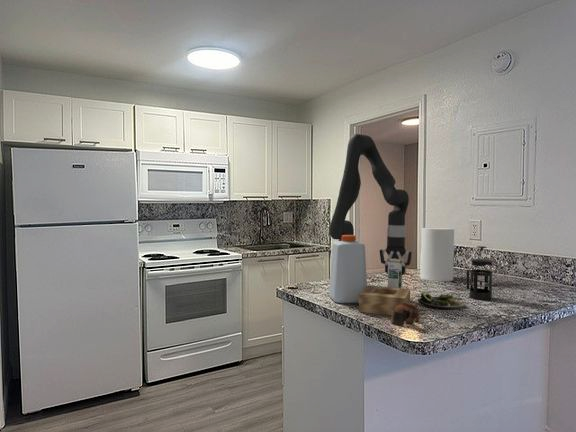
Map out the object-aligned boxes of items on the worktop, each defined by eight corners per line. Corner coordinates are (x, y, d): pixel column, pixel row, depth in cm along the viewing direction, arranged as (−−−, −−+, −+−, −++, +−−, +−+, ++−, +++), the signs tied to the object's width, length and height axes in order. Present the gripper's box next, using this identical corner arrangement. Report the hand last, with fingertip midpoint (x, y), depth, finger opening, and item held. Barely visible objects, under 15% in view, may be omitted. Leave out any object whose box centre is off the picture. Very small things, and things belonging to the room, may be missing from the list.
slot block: (358, 311, 155) (358, 294, 155) (368, 301, 171) (368, 285, 171) (404, 317, 149) (404, 298, 148) (409, 306, 164) (410, 289, 164)
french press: (498, 299, 177) (499, 247, 176) (486, 301, 172) (487, 248, 171) (473, 293, 187) (474, 244, 186) (461, 296, 181) (462, 245, 180)
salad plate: (450, 298, 179) (450, 288, 179) (477, 308, 162) (477, 297, 162) (410, 300, 175) (411, 290, 175) (434, 311, 158) (434, 299, 158)
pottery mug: (384, 321, 145) (391, 300, 147) (406, 332, 146) (413, 311, 148) (400, 323, 133) (408, 299, 136) (424, 334, 134) (432, 311, 137)
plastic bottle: (370, 303, 169) (371, 236, 168) (336, 304, 166) (336, 237, 165) (358, 294, 184) (359, 233, 183) (326, 296, 181) (327, 234, 180)
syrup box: (386, 295, 173) (387, 262, 173) (388, 292, 179) (389, 260, 178) (400, 296, 171) (401, 263, 171) (402, 293, 177) (402, 261, 176)
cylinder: (458, 281, 215) (459, 229, 214) (426, 281, 215) (427, 229, 214) (446, 275, 232) (447, 227, 231) (416, 275, 232) (417, 227, 231)
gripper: (377, 235, 173) (376, 274, 174) (412, 237, 168) (411, 277, 168) (380, 234, 180) (380, 271, 181) (414, 235, 175) (413, 274, 175)
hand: (395, 273), depth 175 cm, fingers closed on syrup box, 5 cm apart
